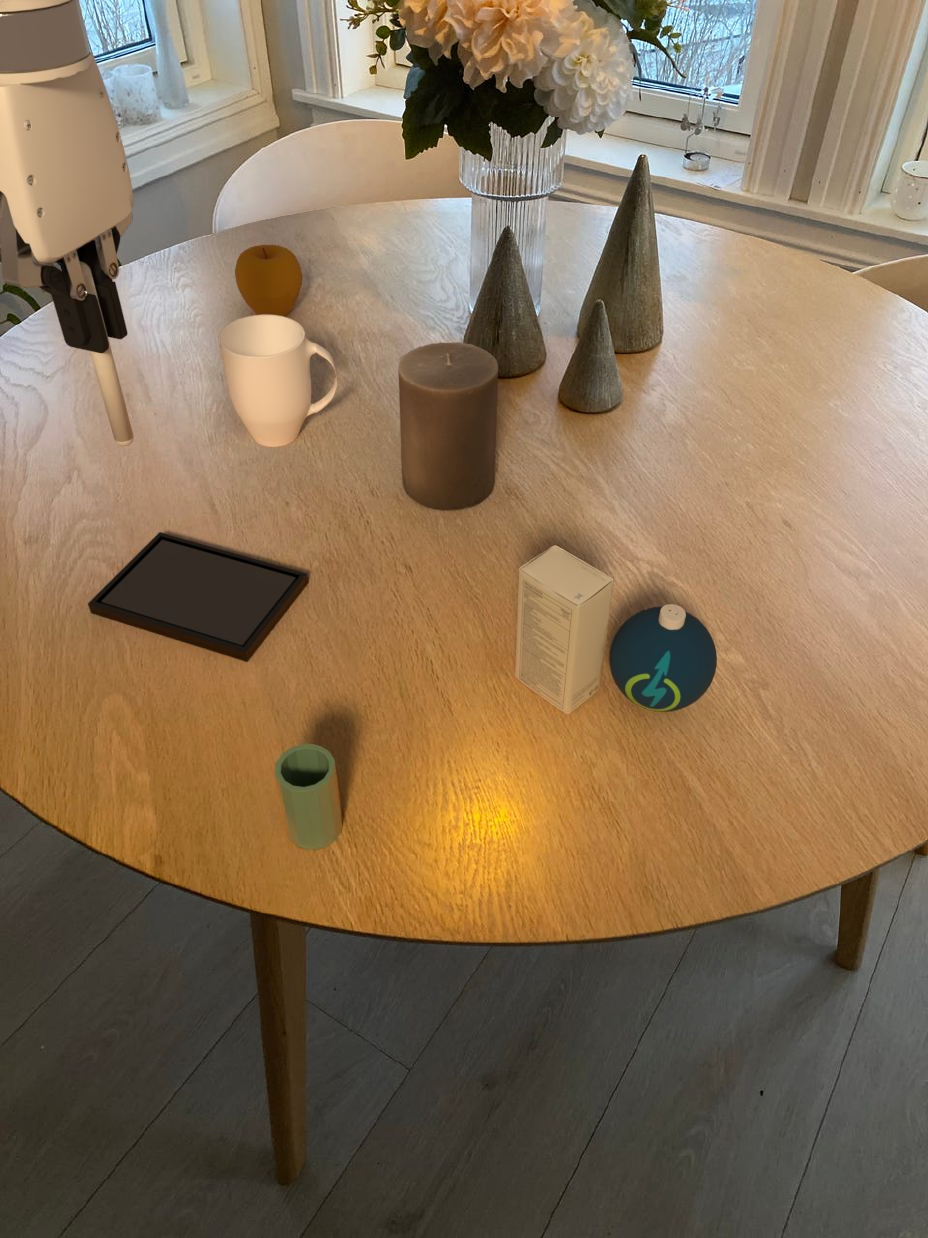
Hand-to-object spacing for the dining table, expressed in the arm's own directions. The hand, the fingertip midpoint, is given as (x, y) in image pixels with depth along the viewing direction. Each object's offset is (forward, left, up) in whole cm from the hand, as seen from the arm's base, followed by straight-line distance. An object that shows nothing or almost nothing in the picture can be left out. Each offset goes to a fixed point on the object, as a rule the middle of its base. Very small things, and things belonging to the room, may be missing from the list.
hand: (97, 339), depth 66 cm
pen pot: (+22, -14, -27) cm, 37 cm away
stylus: (0, 0, -9) cm, 9 cm away
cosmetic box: (+34, +6, -27) cm, 44 cm away
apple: (-21, +56, -27) cm, 65 cm away
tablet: (+1, +4, -27) cm, 27 cm away
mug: (-5, +31, -27) cm, 41 cm away
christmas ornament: (+42, +8, -27) cm, 50 cm away
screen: (+1, +4, -26) cm, 26 cm away
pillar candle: (+15, +29, -27) cm, 42 cm away
